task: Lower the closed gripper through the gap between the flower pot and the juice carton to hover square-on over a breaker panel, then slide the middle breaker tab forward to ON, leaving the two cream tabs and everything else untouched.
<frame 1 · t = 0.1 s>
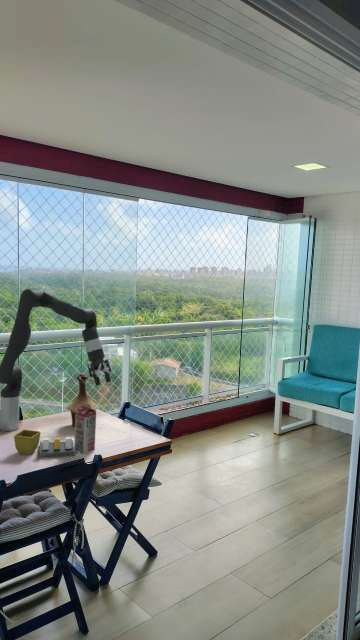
hand: (103, 383, 226), 31 cm above the table, tool tilted 20°, fingers open, 8 cm apart
juice carton: (84, 450, 228), on the table
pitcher: (82, 425, 263), on the table
panel: (56, 450, 225), on the table
flower pot: (27, 453, 221), on the table
tab right: (68, 442, 222), point 5 cm above the table, slide at 0.0 cm
tab mid: (57, 443, 221), point 5 cm above the table, slide at 0.0 cm
tab left: (45, 443, 220), point 5 cm above the table, slide at 0.0 cm
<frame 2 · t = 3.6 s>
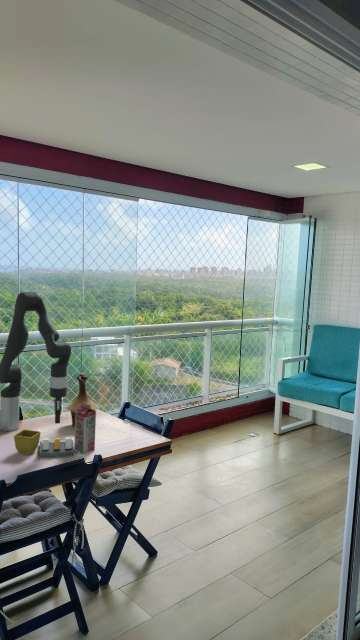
hand: (57, 422, 224), 13 cm above the table, tool pointing down, fingers closed
nothing on the table moved.
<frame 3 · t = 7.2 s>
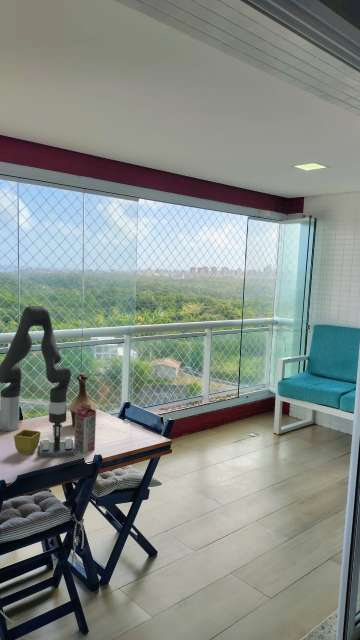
hand: (56, 448, 218), 3 cm above the table, tool pointing down, fingers closed
tab mid: (57, 442, 222), point 5 cm above the table, slide at 1.0 cm, touching gripper
everything else where it was.
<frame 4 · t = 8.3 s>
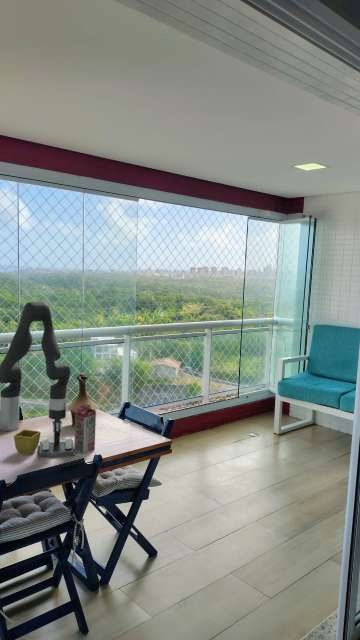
hand: (56, 444, 223), 3 cm above the table, tool pointing down, fingers closed
tab mid: (56, 438, 227), point 5 cm above the table, slide at 6.0 cm, touching gripper
everything else where it was.
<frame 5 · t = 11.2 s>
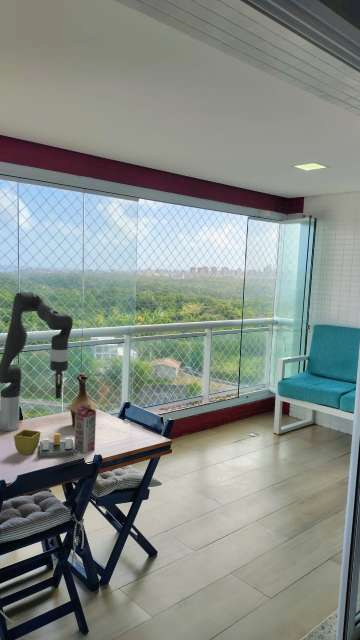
hand: (58, 397, 215), 27 cm above the table, tool pointing down, fingers closed
tab mid: (56, 438, 227), point 5 cm above the table, slide at 6.1 cm
everything else where it was.
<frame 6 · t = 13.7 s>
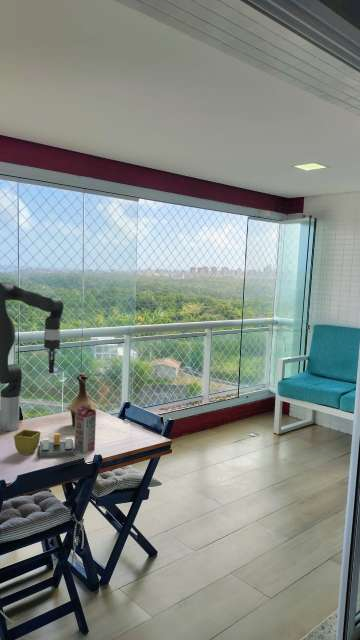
hand: (51, 373, 241), 32 cm above the table, tool pointing down, fingers closed
nothing on the table moved.
at the end: tab mid slide at 6.1 cm; tab left slide at 0.0 cm; juice carton moved 0.5 cm from its start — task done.
